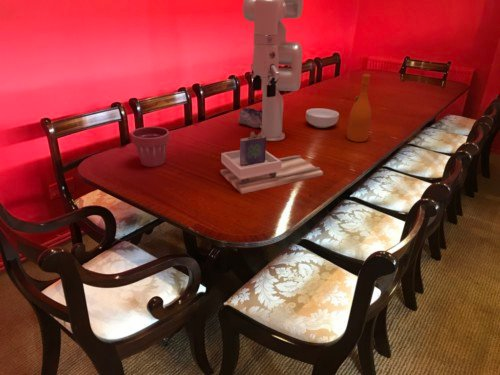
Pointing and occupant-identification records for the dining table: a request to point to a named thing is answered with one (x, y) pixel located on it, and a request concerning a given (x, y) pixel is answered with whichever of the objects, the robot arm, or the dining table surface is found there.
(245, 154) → the flask
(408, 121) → the dining table surface
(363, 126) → the wine bottle
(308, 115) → the cereal bowl
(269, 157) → the pink rimmed tray
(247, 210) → the dining table surface
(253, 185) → the rail board
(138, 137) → the plant pot
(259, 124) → the geode
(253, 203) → the dining table surface
